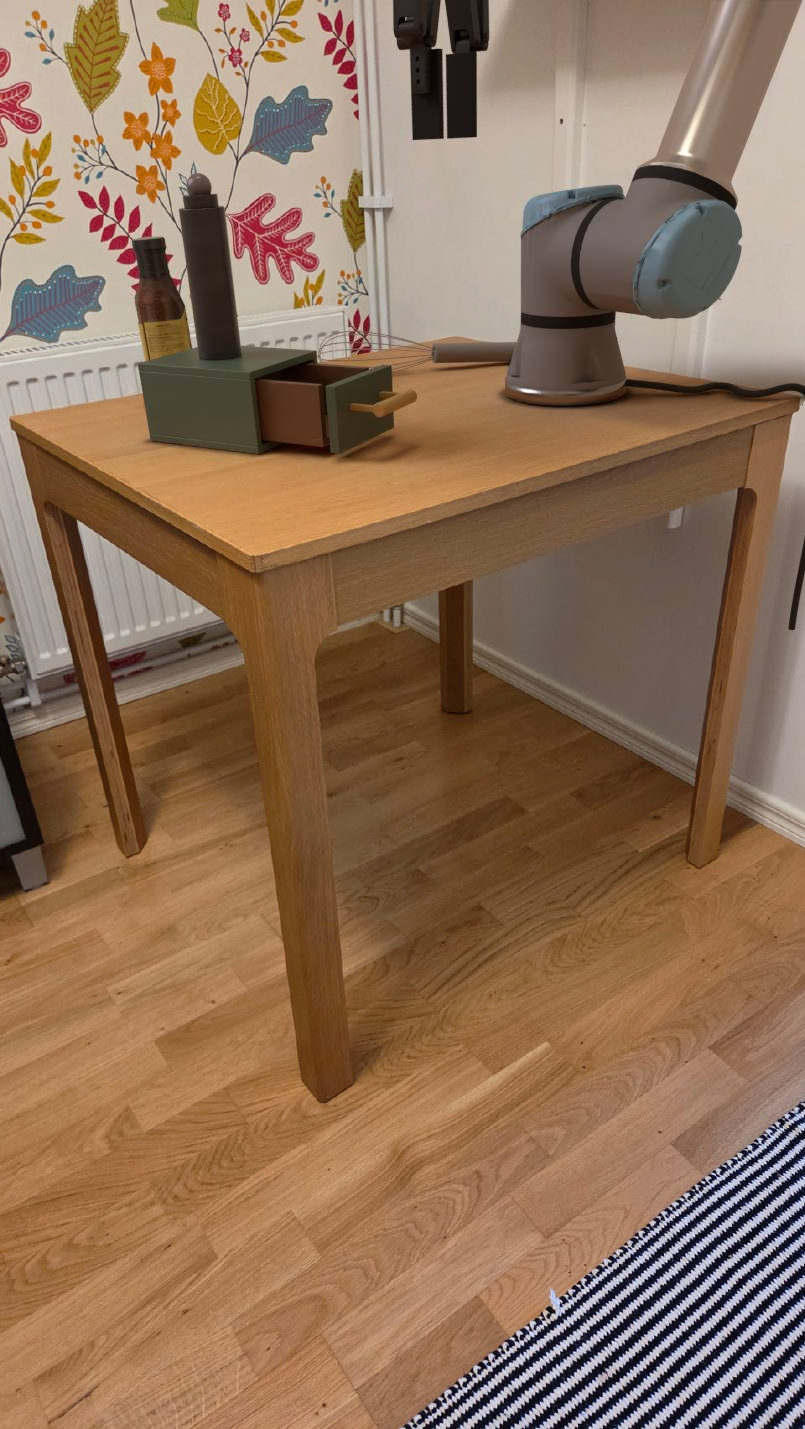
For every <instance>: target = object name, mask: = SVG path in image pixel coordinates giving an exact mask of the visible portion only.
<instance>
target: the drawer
mask: <svg viewBox="0 0 805 1429" xmlns="http://www.w3.org/2000/svg"><path fill="white" fill-rule="evenodd" d="M377 366H378V367H374V368H369V367H370V366H362V365H361V366H359V365H348V364H347V365H345V364H331V363H327V364H325V363H322V364H321V363H320V362H319V363H318V362H317V363H305V362H303V363H300V364H297V365H294V366H291V367H288V368H285V369H282V370H279V371H276V372H273V373H270V374H267V375H264V376H261V377H258V378H255V387H256V396H257V405H258V414H259V423H260V432H261V440H267V441H275V442H284V443H283V444H293V445H302V446H311V447H320V448H324V447H327V446H329V449H330V453H331V454H338V455H341V454H342V453H343V454H344V453H345V452H347V451H349V450H351V449H353V448H356V447H357V446H359V445H361V444H363V443H366V442H367V441H369V440H372V439H374V438H376V437H379V436H380V435H382V434H384V433H387V432H388V431H392V430H393V429H394V428H395V414H394V412H395V411H397V410H400V409H402V408H404V407H406V406H409V405H412V404H413V403H415V402H417V399H418V393H417V392H416V390H414V389H412V388H410V389H409V388H408V389H407V390H405V391H404V390H403V391H402V392H397V391H393V388H394V387H393V373H392V372H393V370H392V369H393V367H392V366H393V365H391V364H381V365H377Z"/></svg>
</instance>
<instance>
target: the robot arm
mask: <svg viewBox="0 0 805 1429" xmlns="http://www.w3.org/2000/svg"><path fill="white" fill-rule="evenodd" d="M803 1H804V0H713V2H712V5H711V8H710V11H709V14H708V16H707V19H706V21H705V24H704V27H703V30H702V32H701V34H700V38H699V40H698V43H697V44H696V45H697V46H696V48H695V51H694V53H693V56H692V59H691V61H690V64H689V67H688V70H687V72H686V75H685V78H684V80H683V83H682V85H681V88H680V91H679V93H678V95H677V99H676V101H675V104H674V107H673V109H672V112H671V115H670V118H669V121H668V123H667V126H666V128H665V130H664V134H663V136H662V139H661V141H660V144H659V146H658V148H657V152H656V155H655V156H654V157H653V158H650V159H649V160H647V161H645V162H643V163H641V164H640V165H638V166H637V167H636V169H635V172H634V174H633V177H632V179H631V182H630V184H629V186H628V190H627V192H626V195H625V194H624V188H623V187H622V186H621V185H620V184H603V185H593V186H585V187H579V188H573V189H572V188H571V189H565V190H558V191H552V192H548V193H543V194H538V195H535V196H532V197H531V198H530V199H529V200H528V201H527V202H526V203H525V205H524V208H523V213H522V227H521V228H522V229H521V231H520V328H519V334H518V336H517V340H516V342H517V343H516V346H515V349H514V352H513V355H512V356H511V357H510V359H509V362H507V366H506V368H507V372H506V375H505V378H504V394H505V395H506V397H507V398H510V399H511V400H514V401H517V402H522V403H526V404H531V405H533V404H534V405H543V406H584V405H594V404H600V403H605V402H610V401H613V400H616V399H619V398H621V397H622V396H624V395H625V394H626V390H627V387H629V388H638V389H648V390H657V391H664V392H671V393H676V394H677V393H678V394H690V395H691V394H701V393H706V392H710V391H715V390H720V391H721V390H723V391H727V392H729V393H731V394H733V395H735V396H737V397H741V398H747V399H758V398H764V397H769V396H773V395H777V394H780V393H785V392H795V393H796V392H797V393H800V394H801V395H803V396H804V397H805V385H804V384H801V383H797V382H789V383H783V384H779V385H775V386H771V387H767V388H763V389H756V390H755V389H754V390H753V389H752V390H751V389H746V388H745V389H744V388H741V387H739V386H737V385H736V384H733V383H732V382H731V383H730V382H722V381H719V382H718V381H712V382H708V383H704V384H699V385H680V384H674V383H673V384H672V383H668V382H666V383H665V382H661V381H659V382H658V381H650V380H639V379H630V378H627V373H626V369H625V365H624V360H623V357H622V356H623V355H622V352H621V348H620V344H619V341H618V336H617V332H616V318H617V316H616V314H617V313H623V314H628V315H629V314H630V315H636V316H644V317H647V318H649V319H654V320H667V319H677V320H678V319H679V320H680V319H681V320H682V319H689V318H692V317H695V316H697V315H699V314H700V313H702V312H704V311H706V310H708V309H709V308H710V307H711V306H713V305H714V304H716V302H718V300H719V299H720V298H721V296H722V295H723V294H724V292H725V291H726V290H727V288H728V286H729V285H730V284H731V282H732V280H733V278H734V275H735V274H736V271H737V268H738V266H739V262H740V258H741V254H742V248H743V246H742V245H741V244H740V243H739V242H740V240H741V239H742V238H743V227H742V224H741V223H742V221H741V220H740V217H739V215H738V213H737V212H736V209H737V206H738V203H739V199H738V195H737V193H736V191H735V188H734V185H733V183H732V181H733V178H734V176H735V173H736V171H737V168H738V165H739V163H740V160H741V158H742V155H743V153H744V150H745V148H746V145H747V143H748V140H749V138H750V135H751V132H752V130H753V128H754V125H755V122H756V120H757V117H758V115H759V112H760V110H761V107H762V105H763V102H764V99H765V97H766V95H767V91H769V90H768V89H769V87H770V85H771V82H772V79H773V77H774V75H775V71H776V69H777V67H778V64H779V62H780V59H781V57H782V54H783V51H784V50H785V46H786V45H787V44H786V43H787V41H788V39H789V36H790V33H791V31H792V28H793V26H794V23H795V21H796V18H797V16H798V13H799V11H800V8H801V6H802V3H803ZM441 2H442V0H392V25H393V26H392V28H393V30H392V31H393V35H394V37H395V39H396V46H397V49H398V50H399V51H407V50H408V51H409V69H410V99H411V102H410V104H411V132H412V141H427V140H428V141H429V140H444V139H445V126H444V124H445V122H444V68H443V67H444V66H443V65H444V64H443V48H435V47H436V45H437V41H438V32H439V21H440V13H441V12H440V11H441ZM444 5H445V13H446V20H447V29H448V36H449V44H450V50H451V53H446V54H445V87H446V88H445V90H446V91H445V92H446V94H445V95H446V96H445V97H446V99H445V100H446V139H448V140H449V139H450V140H451V139H470V138H477V137H478V52H479V53H481V52H487V51H488V49H489V41H490V0H444ZM795 578H796V579H795V584H794V590H793V594H792V600H791V606H790V612H789V619H788V621H789V622H788V626H787V630H789V631H795V630H796V625H797V618H798V612H799V606H800V601H801V600H800V599H801V595H802V589H803V583H804V579H805V536H804V538H803V543H802V547H801V554H800V559H799V564H798V569H797V574H796V577H795Z"/></svg>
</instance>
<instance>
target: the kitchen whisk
mask: <svg viewBox="0 0 805 1429" xmlns="http://www.w3.org/2000/svg"><path fill="white" fill-rule="evenodd" d="M342 333H346V334H342ZM338 334H341V335H338ZM334 335H336V336H334ZM361 335H362V336H374V337H382V338H387V339H393V340H398V341H402V342H406V343H411V344H415V345H418V346H422V347H425V348H421V347H414V346H407V345H400V344H391V343H379V342H370V341H369V342H366V341H364V342H363V341H341V342H330V343H329V341H332V340H334V339H336V338H338V337H339V338H340V337H345V336H361ZM332 336H334V337H332ZM330 337H331V338H330ZM327 338H329V339H328V340H327V341H325V340H326V339H327ZM324 342H325V343H324ZM516 343H517V341H500V342H498V341H496V342H493V341H492V342H442V343H432V346H429V345H426V344H423V343H420V342H417V341H413V340H411V339H407V338H403V337H399V336H394V335H389V334H384V333H379V332H373V331H363V330H343V331H339V332H334V333H332V334H330V335H328V336H325V338H324V339H323V340H322V342H321V343H320V345H319V348H318V350H317V360H319V364H328V363H327V362H362V361H364V362H365V361H379V360H395V359H405V358H418V357H423V358H419V359H413V360H409V361H404V362H398V363H391V364H390V365H391V366H395V365H402V364H405V365H402V366H398V367H395V368H392V374H395V373H397V372H398V373H399V372H401V371H404V370H408V369H411V368H414V367H417V366H419V365H422V364H425V363H427V362H431V361H432V364H459V363H460V364H461V363H462V364H464V363H466V364H467V363H498V362H499V363H505V362H507V363H509V359H510V357H511V356H512V355H513V352H514V349H515V346H516ZM339 344H372V345H381V346H382V345H383V346H393V347H401V348H408V349H398V348H397V349H396V348H395V349H394V348H344V349H333V350H327V351H323V352H322V350H323V348H325V347H328V346H332V345H339ZM363 350H364V351H399V352H400V351H403V352H421V353H430V354H420V355H409V356H408V355H407V356H397V357H387V358H384V357H383V358H368V359H367V358H366V359H343V360H342V359H323V358H321V356H322V354H326V353H332V352H340V351H341V352H342V351H363ZM325 361H327V362H325ZM407 363H409V364H407ZM378 366H379V365H376V366H375V365H374V366H368V367H369V369H373V368H375V367H378ZM398 369H399V370H398ZM393 370H395V371H393Z"/></svg>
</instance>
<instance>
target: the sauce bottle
mask: <svg viewBox="0 0 805 1429" xmlns="http://www.w3.org/2000/svg"><path fill="white" fill-rule="evenodd" d="M131 246H132V251H133V253H134V254H135V260H136V265H137V270H138V271H137V272H138V273H137V275H138V278H139V280H138V286H137V289H136V292H135V295H134V305H135V306H134V307H135V311H136V315H137V320H138V322H137V326H138V330H139V336H140V341H141V347H142V351H143V356H144V362H145V361H148V360H152V359H156V358H159V357H163V356H167V355H170V354H174V353H178V352H181V351H185V350H188V349H192V348H193V345H192V338H191V332H190V327H189V321H188V315H187V314H188V313H187V309H186V305H185V303H184V301H183V298H182V296H181V294H180V292H179V290H178V288H177V286H176V284H175V281H174V279H173V278H172V275H171V273H170V272H171V271H170V269H169V263H168V257H167V252H166V250H167V244H166V239H165V237H164V236H161V235H160V236H159V235H158V236H144V237H137V238H133V239H131Z"/></svg>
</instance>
